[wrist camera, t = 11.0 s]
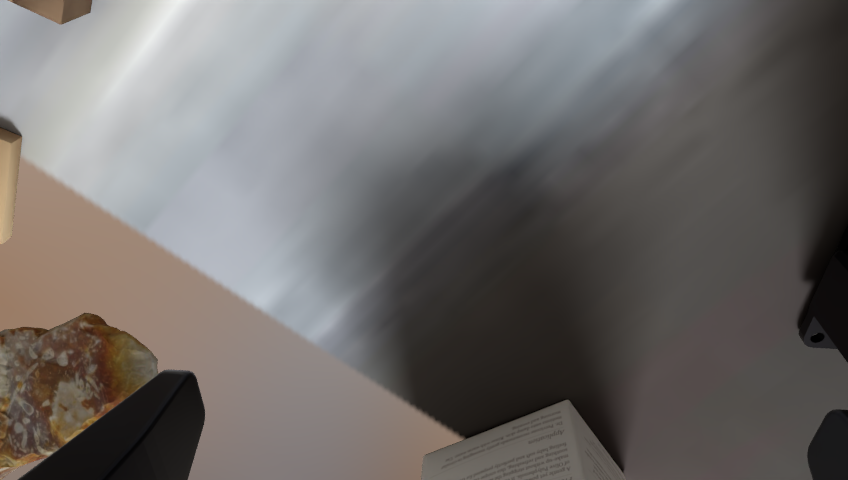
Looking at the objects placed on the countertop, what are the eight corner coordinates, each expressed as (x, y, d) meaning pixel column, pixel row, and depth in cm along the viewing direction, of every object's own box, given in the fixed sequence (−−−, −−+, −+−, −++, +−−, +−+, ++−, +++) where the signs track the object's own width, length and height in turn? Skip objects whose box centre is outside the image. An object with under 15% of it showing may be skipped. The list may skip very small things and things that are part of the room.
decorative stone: (-239, 434, 24) (50, 297, 22) (-152, 362, 28) (103, 237, 25) (-53, 561, 29) (209, 461, 26) (1, 484, 33) (234, 389, 30)
